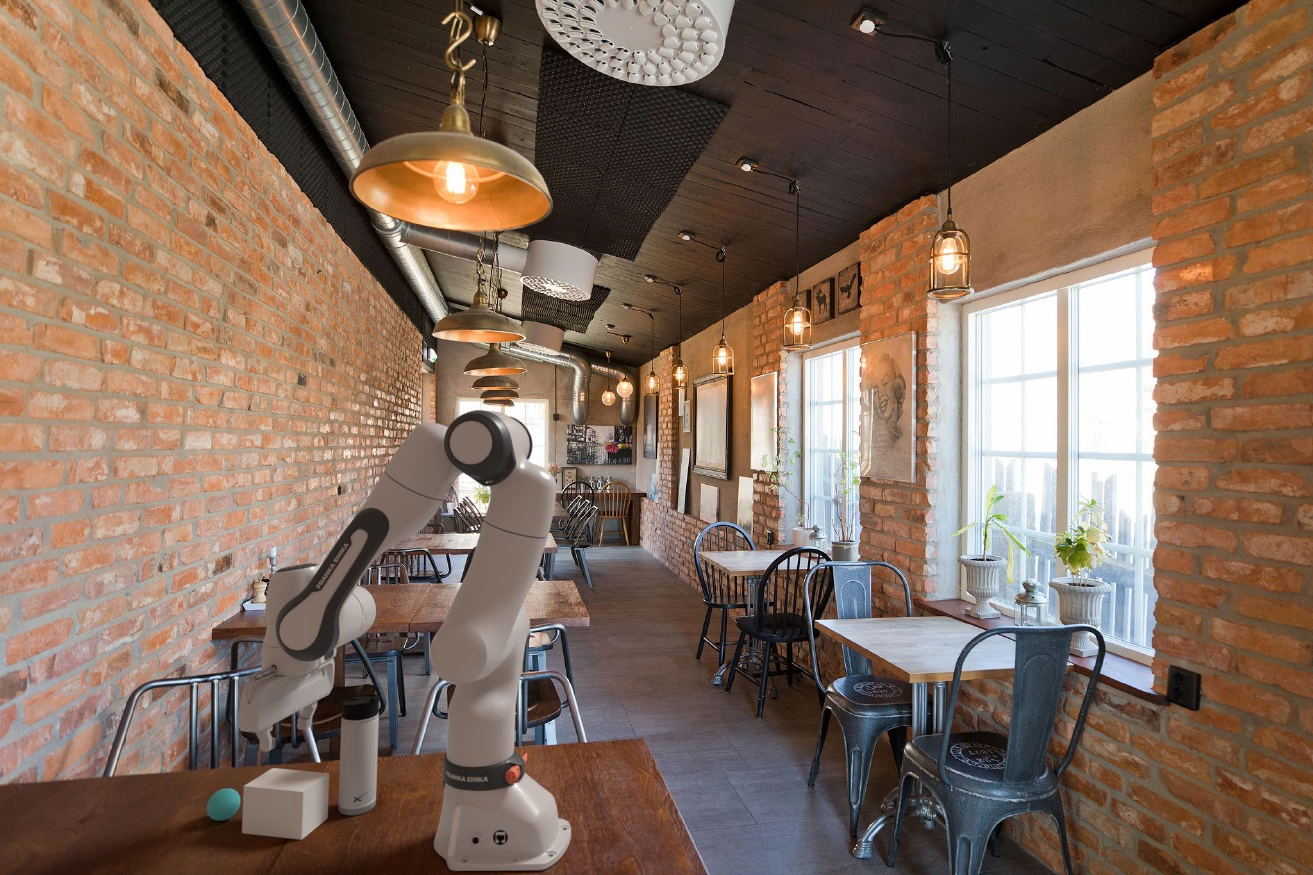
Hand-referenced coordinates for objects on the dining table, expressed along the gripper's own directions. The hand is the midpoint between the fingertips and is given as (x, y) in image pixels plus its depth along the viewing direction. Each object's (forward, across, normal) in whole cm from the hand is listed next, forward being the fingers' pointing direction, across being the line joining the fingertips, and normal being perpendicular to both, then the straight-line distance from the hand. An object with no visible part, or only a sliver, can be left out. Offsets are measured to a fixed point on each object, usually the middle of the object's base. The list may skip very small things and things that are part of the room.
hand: (286, 738), depth 120 cm
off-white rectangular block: (+15, 0, -1) cm, 15 cm away
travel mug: (+15, +8, -9) cm, 19 cm away
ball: (+12, 0, +11) cm, 17 cm away
